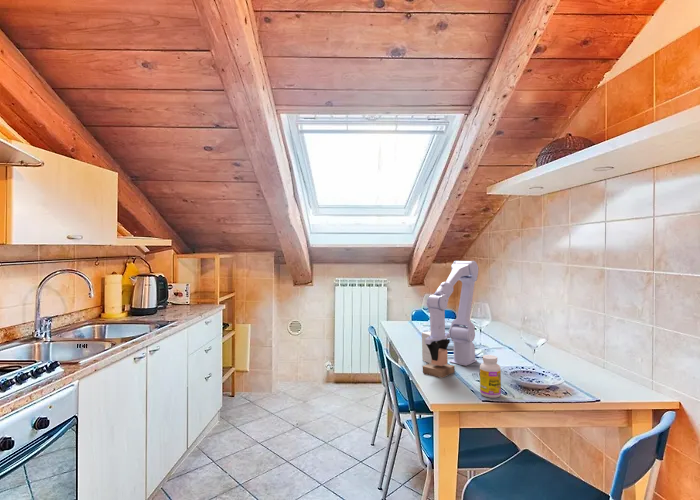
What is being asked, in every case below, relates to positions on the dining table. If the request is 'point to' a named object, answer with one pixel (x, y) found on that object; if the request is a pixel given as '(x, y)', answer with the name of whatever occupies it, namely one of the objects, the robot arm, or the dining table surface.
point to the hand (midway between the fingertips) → (438, 358)
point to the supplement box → (426, 348)
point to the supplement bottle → (490, 377)
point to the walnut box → (438, 370)
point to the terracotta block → (441, 358)
